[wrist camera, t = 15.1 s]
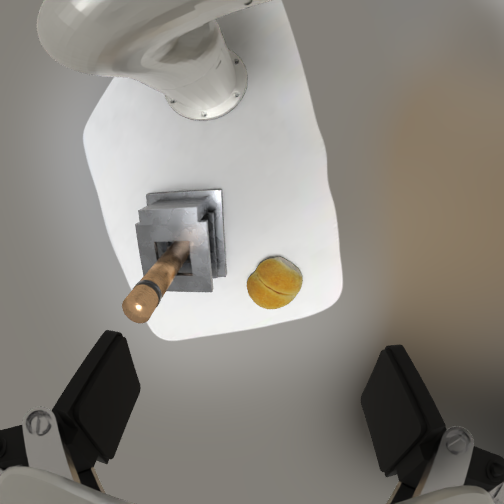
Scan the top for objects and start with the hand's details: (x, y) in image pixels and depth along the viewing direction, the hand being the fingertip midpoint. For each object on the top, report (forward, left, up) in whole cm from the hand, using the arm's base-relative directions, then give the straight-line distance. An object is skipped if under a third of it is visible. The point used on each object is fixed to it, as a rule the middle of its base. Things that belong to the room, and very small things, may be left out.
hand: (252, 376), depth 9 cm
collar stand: (+6, -12, -34) cm, 37 cm away
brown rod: (+6, -12, -33) cm, 36 cm away
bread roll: (+13, +2, -35) cm, 37 cm away
